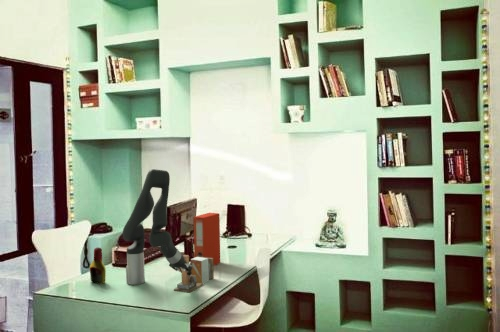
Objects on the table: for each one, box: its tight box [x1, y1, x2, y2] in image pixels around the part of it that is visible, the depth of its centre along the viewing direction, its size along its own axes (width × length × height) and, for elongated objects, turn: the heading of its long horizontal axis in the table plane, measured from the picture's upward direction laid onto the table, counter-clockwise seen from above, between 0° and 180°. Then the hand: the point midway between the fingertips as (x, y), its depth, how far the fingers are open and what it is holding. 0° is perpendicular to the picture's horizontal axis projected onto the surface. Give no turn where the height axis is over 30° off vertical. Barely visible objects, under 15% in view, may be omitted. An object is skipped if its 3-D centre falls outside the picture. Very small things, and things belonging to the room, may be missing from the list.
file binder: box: [193, 212, 221, 267], centre depth 301 cm, size 8×17×32 cm, turn 150°
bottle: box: [89, 247, 107, 285], centre depth 271 cm, size 12×6×20 cm, turn 48°
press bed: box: [173, 257, 215, 294], centre depth 263 cm, size 10×26×12 cm, turn 156°
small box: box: [190, 257, 210, 284], centre depth 268 cm, size 8×6×13 cm
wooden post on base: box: [176, 254, 196, 290], centre depth 255 cm, size 7×8×17 cm
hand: (187, 273), depth 256 cm, fingers closed on wooden post on base, 3 cm apart
